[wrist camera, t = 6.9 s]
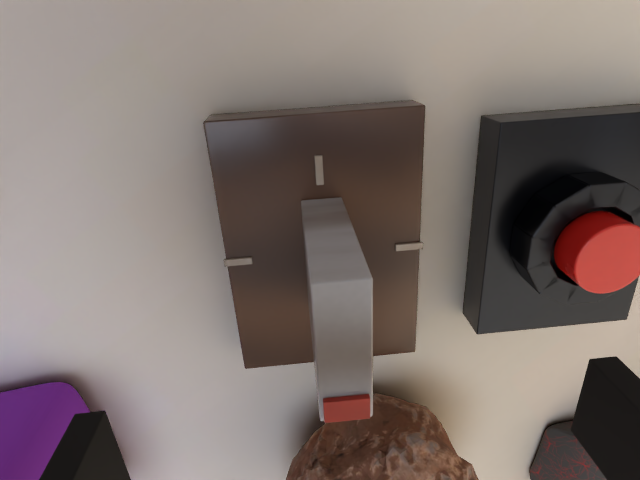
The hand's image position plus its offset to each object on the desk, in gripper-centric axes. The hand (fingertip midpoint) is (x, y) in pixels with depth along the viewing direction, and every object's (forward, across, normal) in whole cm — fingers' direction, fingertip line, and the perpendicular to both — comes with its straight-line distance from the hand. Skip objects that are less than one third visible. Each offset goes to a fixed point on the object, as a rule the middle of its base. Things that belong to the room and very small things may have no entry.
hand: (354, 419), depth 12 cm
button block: (+13, +13, 0) cm, 18 cm away
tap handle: (+11, 0, 0) cm, 11 cm away
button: (+9, +13, 0) cm, 16 cm away
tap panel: (+13, 0, 0) cm, 13 cm away
